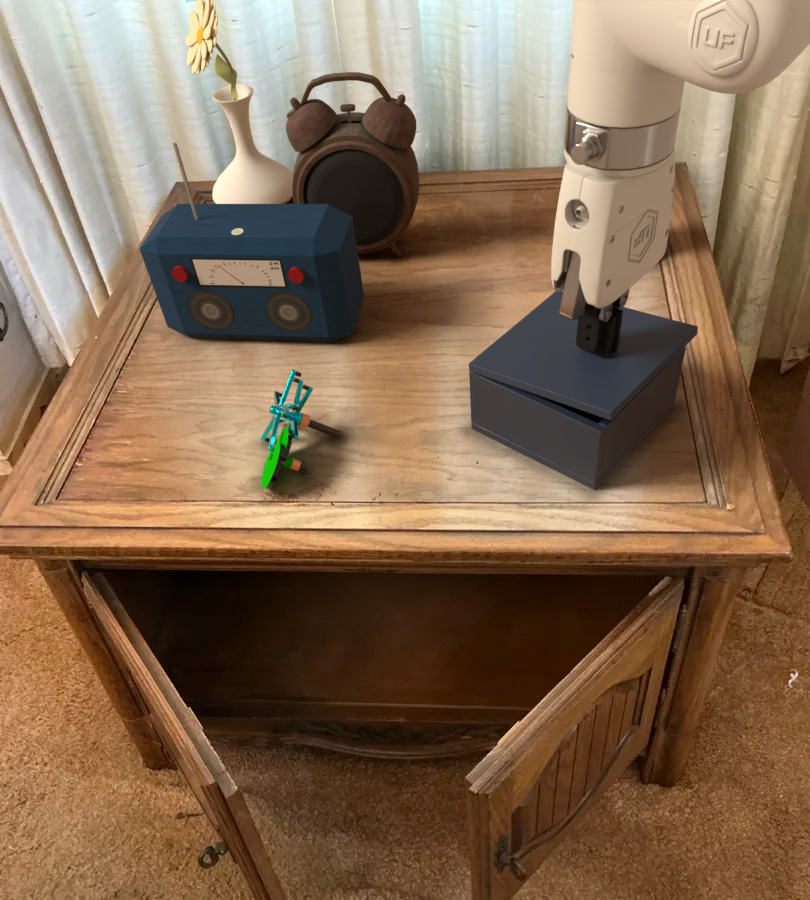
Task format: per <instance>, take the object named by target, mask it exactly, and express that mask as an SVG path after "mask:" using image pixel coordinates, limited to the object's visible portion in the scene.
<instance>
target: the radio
mask: <svg viewBox="0 0 810 900" xmlns="http://www.w3.org/2000/svg"><path fill="white" fill-rule="evenodd" d="M172 146H173V151H174V153H175V157H176V160H177V163H178V166H179V169H180V173H181V176H182V180H183V184H184V186H185V190H186V193H187V197H188V200H189V203H177V204H176V205H174V206H172V207H171V208H170V209H169V210H167V211H166V212H165V213H163V214H162V215H161V216H160V217H159V218H158V220H157V222H156V223H155V224H154V226H153V228H152V229H151V231H150V232H149V233H148V235H147V237H146V238H145V239H144V241H143V243H142V244H141V246H140V247H139V252H140V255H141V257H142V260H143V263H144V265H145V267H146V271H147V274H148V276H149V279H150V282H151V284H152V287H153V290H154V293H155V296H156V299H157V301H158V304H159V306H160V309H161V312H162V315H163V318H164V321H165V324H166V326H167V329H168V328H169V329H170V330H173V331H175V332H177V333H179V334H182V335H184V336H185V337H188V338H190V339H207V340H210V339H211V340H214V339H215V340H237V341H238V340H241V341H272V342H273V341H274V342H305V343H308V342H309V343H336V342H337V341H338V340H341V339H343V338H344V337H346V336H348V335H351V334H352V333H353V331H354V328H355V325H356V323H357V320H358V317H359V314H360V311H361V308H362V305H363V302H364V299H365V291H364V285H363V279H362V272H361V266H360V259H359V254H358V250H357V244H356V237H355V230H354V223H353V217H352V216H350V215H348V214H347V213H345V212H343V211H341V210H339V209H337V208H335V207H333V206H331V205H329V204H294V203H285V204H216V203H195V201H194V198H193V194H192V191H191V187H190V183H189V180H188V177H187V174H186V170H185V167H184V163H183V160H182V157H181V153H180V150H179V146H178V143H177V142H172Z"/></svg>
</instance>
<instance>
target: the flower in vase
mask: <svg viewBox="0 0 810 900" xmlns="http://www.w3.org/2000/svg"><path fill="white" fill-rule="evenodd" d="M216 13H217V10H216V5H214V0H197V1H196V2H195V10H194V9H190V11H189V13H188V18H189V22H188V29H189V34H187V35H186V36H185V39H184V45H185V46H186V47H189V48H188V50H187V53H186V67H190V66H191V74H192V75H195V74H197V75H200V73H204V72H205V70H206V68H208V67H209V65H210V61H211V59H212V58H213V55H214V49H215V48H216V49H217V51H218V52H219V53H220V55H221V56H222V57H221V56H220V55H219V53H217V54H216V56H215V60H214V72H215V74H216V75H217V76H218V77H219V78H220V79H222V80H224V81H225V82H226V83H228V84H230V85H226V86H223V87H221V88H218V89H216V91H214V92H213V93H212V95H211V96H212V99H213V101H214V102H215V103H216V104H218V106H219V107H221V109H222V110H223V112H224V114H225V116H226V118H227V120H228V122H229V125H230V128H231V131H232V134H233V138H234V143H235V156H234V158H233V159H232V161H231V162H230V163H229V165H227V166H226V168H225V169H224V170H223V171H222V173H221V174H220V175H219V176H218V178H217V179H216V181H215V183H214V185H213V187H212V200H213V202H214V204H287V203H288V202H289V201H290V200H292V199H293V195H292V184H293V173H294V171H292V170H291V169H290V168H289V167H287V166H286V165H285V164H283V163H281V162H279V161H276V160H275V159H273V158H270V157H269V156H266V155H265V154H263V153H261V152H260V151H259V150H258V148H257V147H256V144H255V142H254V138H253V134H252V129H251V123H250V103H251V99H252V96H253V94H254V91H255V89H254V88H253V87H252V86H251V85H248V84H242V83H237V78H238V72H237V71H236V70H235V68H233V66H232V64H231V61H230V60H229V58H228V56H227V55H226V54H225V52H224V51H223V49H222V48H221V46H220V45H219V44H218V41H217V38H218V37H217V35H218V23H219V16H218V15H216Z"/></svg>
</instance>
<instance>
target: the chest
mask: <svg viewBox="0 0 810 900" xmlns="http://www.w3.org/2000/svg"><path fill="white" fill-rule="evenodd" d="M686 349H687V346H685V347H684V348H683V349H682V350H681V351H680V352H679V353H678V354H677V355H676V356H675V357H674V358H673V359H672V360H671V361H670V362H669V363H668V364H667V365H666V366H665V367H664V368H663V369H662V370H661V371H660V372H659V373H658V374H657V375H656V376H655V377H654V378H653V379H652V380H651V381H650V382H649V383H648V384H647V385H646V386H645V387H644V388H643V389H642V390H641V391H640V392H639V393H638V394H637V395H636V396H635V397H634V398H633V399H632V400H631V401H630V402H629V403H628V404H627V405H626V406H625V407H624V408H623V409H622V410H621V411H620V412H619V413H618V414H617V415H616V416H615V417H614V418H613V419H612V420H608V419H605V418H603V417H600V416H597V415H594V414H591V413H588V412H585V411H583V410H580V409H577V408H574V407H571V406H568V405H565V404H563V403H560V402H557V401H554V400H551V399H548V398H545V397H542V396H540V395H537V394H534V393H531V392H528V391H525V390H522V389H520V388H517V387H514V386H511V385H508V384H505V383H502V382H499V381H497V380H494V379H491V378H488V377H485V376H482V375H479V374H477V373H474V372H471V371H468V377H469V378H468V379H469V398H470V399H469V400H470V422H471V424H470V425H471V430H473V431H476V432H477V433H479V434H482V435H484V436H486V437H488V438H490V439H492V440H494V441H496V442H497V443H500V444H502V445H504V446H505V447H508V448H509V449H512V450H514V451H515V452H517V453H519V454H522V455H524V456H526V457H528V458H529V459H531V460H534V461H535V462H538V463H540V464H542V465H543V466H546V467H547V468H549V469H552V470H553V471H555V472H557V473H560V474H562V475H564V476H565V477H567V478H570V479H572V480H573V481H576V482H578V483H579V484H581V485H584V486H586V487H588V488H589V489H591V490H596V489H597V488H598V487H599V486H600V485H601V483H603V481H604V480H605V479H606V478H607V477H608V476H609V475H610V474H611V473H612V472H613V471H614V470H615V469H616V468H617V467H618V466H619V465H620V464H621V463H622V461H624V459H625V458H626V457H628V455H629V454H630V453H631V452H632V451H633V450H634V449H635V448H636V447H637V446H638V445H639V444H640V443H641V442H642V440H643V439H645V437H646V436H647V435H649V433H650V432H651V431H652V430H653V429H654V428H655V427H656V426H657V425H658V424H659V423H660V422H661V421H662V420H663V419H664V417H665V416H666V415H667V414H668V413H669V412H670V411H671V410H672V409H673V408H674V407H675V405H676V400H677V395H678V391H679V390H678V389H679V385H680V379H681V374H682V370H683V364H684V360H685V354H686Z"/></svg>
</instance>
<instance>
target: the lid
mask: <svg viewBox="0 0 810 900" xmlns="http://www.w3.org/2000/svg"><path fill="white" fill-rule="evenodd" d="M562 295H563V290H562V291H560V292H555V291H554V292H553V293H551V294H550V295H549V296H548V297H547V298H545V299H544V300H543V301H542V302H541V303H540V304H539V305H537V306H536V307H534V309H532V310H531V311H529V313H527V314H526V315H525V316H524V317H522V319H521V320H519V321H518V322H517V323H515V324H514V325H513V326H511V328H509V329H508V330H507V331H506V332H505V333H503V334H502V335H501V336H500V337H499V338H497V339H496V340H495V341H494V342H493V343H491V344H490V345H489V346H488V347H487V348H486V349H484V350H483V351H482V352H481V353H479V354H478V355H477V356H476V357H475V358H474V359H472V360H471V361H469V362H468V370H469V371H471V372H474V373H477V374H479V375H482V376H485V377H488V378H491V379H494V380H497V381H499V382H502V383H505V384H508V385H511V386H514V387H517V388H520V389H522V390H525V391H528V392H531V393H534V394H537V395H540V396H542V397H545V398H548V399H551V400H554V401H557V402H560V403H563V404H565V405H568V406H571V407H574V408H577V409H580V410H583V411H585V412H588V413H591V414H594V415H597V416H600V417H603V418H605V419H608V420H612V419H613V418H614V417H615V416H616V415H617V414H618V413H619V412H620V411H621V410H622V409H623V408H624V407H625V406H626V405H627V404H628V403H629V402H630V401H631V400H632V399H633V398H634V397H635V396H636V395H637V394H638V393H639V392H640V391H641V390H642V389H643V388H644V387H645V386H646V385H647V384H648V383H649V382H650V381H651V380H652V379H653V378H654V377H655V376H656V375H657V374H658V373H659V372H660V371H661V370H662V369H663V368H664V367H665V366H666V365H667V364H668V363H669V362H670V361H671V360H672V359H673V358H674V357H675V356H676V355H677V354H678V353H679V352H680V351H681V350H682V349H683V348H684V347H687V345H688V344H690V342H692V340H693V339H694V338H695V337H696V336H697V335H698V331H699V326H698V325H694V324H690V323H686V322H683V321H680V320H675V319H672V318H668V317H664V316H659V315H656V314H652V313H649V312H646V311H645V312H644V311H641V310H636V309H632V308H629V307H625V306H624V307H623V308H620V307H619V309H621V310H623V316H622V323H621V331H620V338H619V346H618V348H617V349H616V350H615V351H614V352H612V353H611V355H610V356H609V357H608V358H606V359H605V358H602V357H600V356H597V355H595V354H592V353H590V352H588V351H585V350H583V349H580V348H578V347H577V345H576V336H577V325H578V318H577V319H575V320H571V319H569V318H566V317H564V316H561V315H560V314H559V310H560V305H561V300H562ZM469 371H468V372H469Z"/></svg>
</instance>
